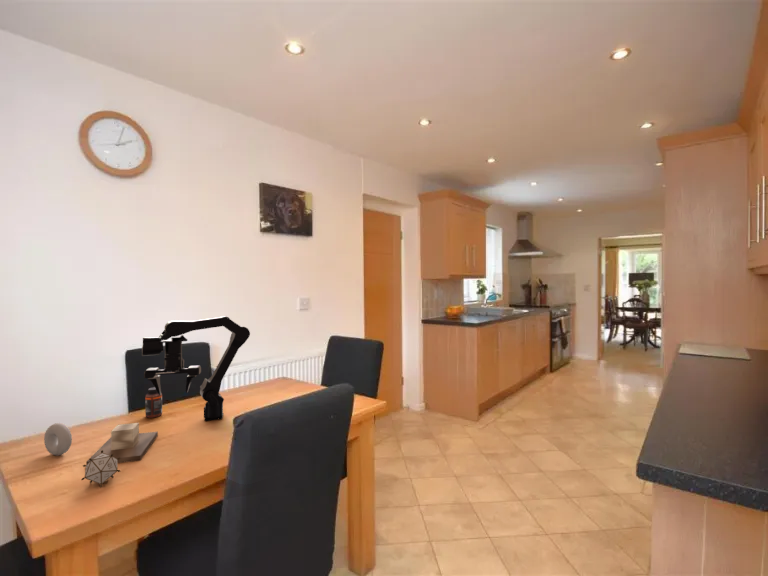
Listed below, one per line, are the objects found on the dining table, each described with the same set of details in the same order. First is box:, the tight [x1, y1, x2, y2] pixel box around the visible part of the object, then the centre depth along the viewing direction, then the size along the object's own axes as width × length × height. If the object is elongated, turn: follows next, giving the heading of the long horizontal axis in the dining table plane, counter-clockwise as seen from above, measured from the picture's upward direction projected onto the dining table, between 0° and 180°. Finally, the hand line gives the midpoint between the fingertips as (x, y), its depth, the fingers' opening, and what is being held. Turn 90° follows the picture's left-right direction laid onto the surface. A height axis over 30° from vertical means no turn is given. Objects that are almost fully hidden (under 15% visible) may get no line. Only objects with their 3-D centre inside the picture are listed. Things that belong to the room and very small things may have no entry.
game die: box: [80, 450, 121, 488], centre depth 103 cm, size 9×8×10 cm
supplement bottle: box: [144, 386, 163, 419], centre depth 156 cm, size 6×6×11 cm
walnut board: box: [85, 431, 159, 465], centre depth 124 cm, size 14×20×2 cm
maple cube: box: [110, 422, 140, 450], centre depth 124 cm, size 6×6×6 cm
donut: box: [43, 422, 73, 456], centre depth 120 cm, size 10×4×10 cm, turn 71°
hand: (173, 393), depth 146 cm, fingers open, 9 cm apart
